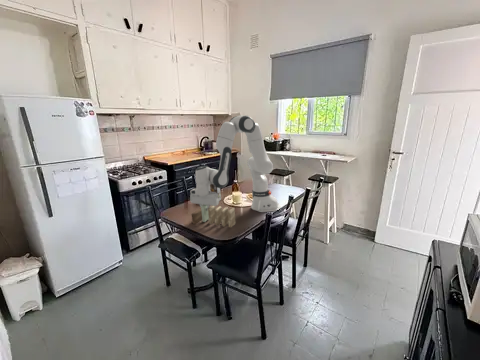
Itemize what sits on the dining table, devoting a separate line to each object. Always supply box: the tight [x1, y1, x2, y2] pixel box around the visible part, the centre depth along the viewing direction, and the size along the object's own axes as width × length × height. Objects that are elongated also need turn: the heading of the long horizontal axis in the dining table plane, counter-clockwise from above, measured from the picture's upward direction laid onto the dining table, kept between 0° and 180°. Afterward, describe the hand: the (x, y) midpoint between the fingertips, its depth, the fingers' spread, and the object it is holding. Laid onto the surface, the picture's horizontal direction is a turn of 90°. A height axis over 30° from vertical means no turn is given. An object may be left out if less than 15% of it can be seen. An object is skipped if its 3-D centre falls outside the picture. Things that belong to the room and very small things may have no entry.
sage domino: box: [200, 205, 209, 223], centre depth 157 cm, size 2×6×11 cm, turn 157°
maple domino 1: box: [208, 205, 216, 225], centre depth 155 cm, size 2×6×11 cm, turn 157°
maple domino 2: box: [214, 205, 223, 226], centre depth 153 cm, size 2×6×11 cm, turn 157°
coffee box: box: [210, 184, 222, 202], centre depth 196 cm, size 9×6×16 cm
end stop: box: [191, 207, 202, 225], centre depth 160 cm, size 3×12×7 cm, turn 157°
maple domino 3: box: [221, 206, 229, 228], centre depth 151 cm, size 2×6×11 cm, turn 157°
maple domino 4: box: [228, 207, 236, 229], centre depth 149 cm, size 2×6×11 cm, turn 157°
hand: (205, 210), depth 156 cm, fingers closed on sage domino, 2 cm apart
